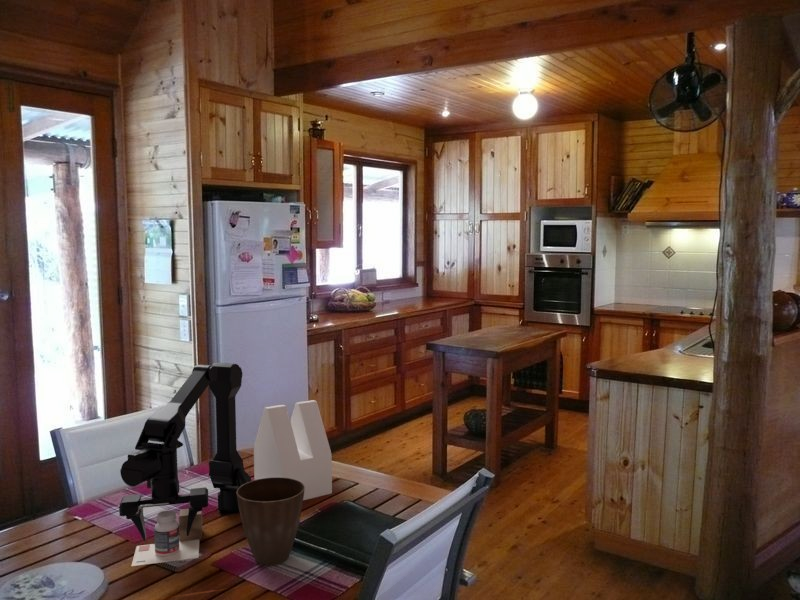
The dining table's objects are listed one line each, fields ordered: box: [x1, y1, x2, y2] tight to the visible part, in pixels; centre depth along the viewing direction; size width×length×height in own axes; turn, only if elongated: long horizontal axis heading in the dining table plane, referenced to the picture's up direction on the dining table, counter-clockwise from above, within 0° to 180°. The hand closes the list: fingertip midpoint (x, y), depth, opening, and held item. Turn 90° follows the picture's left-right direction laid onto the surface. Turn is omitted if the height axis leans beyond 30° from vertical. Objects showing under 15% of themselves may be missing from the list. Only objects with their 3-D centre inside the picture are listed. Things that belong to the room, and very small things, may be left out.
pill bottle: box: [153, 510, 180, 556], centre depth 147 cm, size 5×5×9 cm
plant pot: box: [236, 477, 305, 567], centre depth 145 cm, size 15×15×16 cm
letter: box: [130, 539, 201, 567], centre depth 148 cm, size 14×10×1 cm
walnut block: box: [178, 508, 203, 542], centre depth 156 cm, size 5×5×6 cm
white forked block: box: [253, 399, 333, 501], centre depth 186 cm, size 19×15×25 cm
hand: (166, 537), depth 147 cm, fingers open, 9 cm apart
